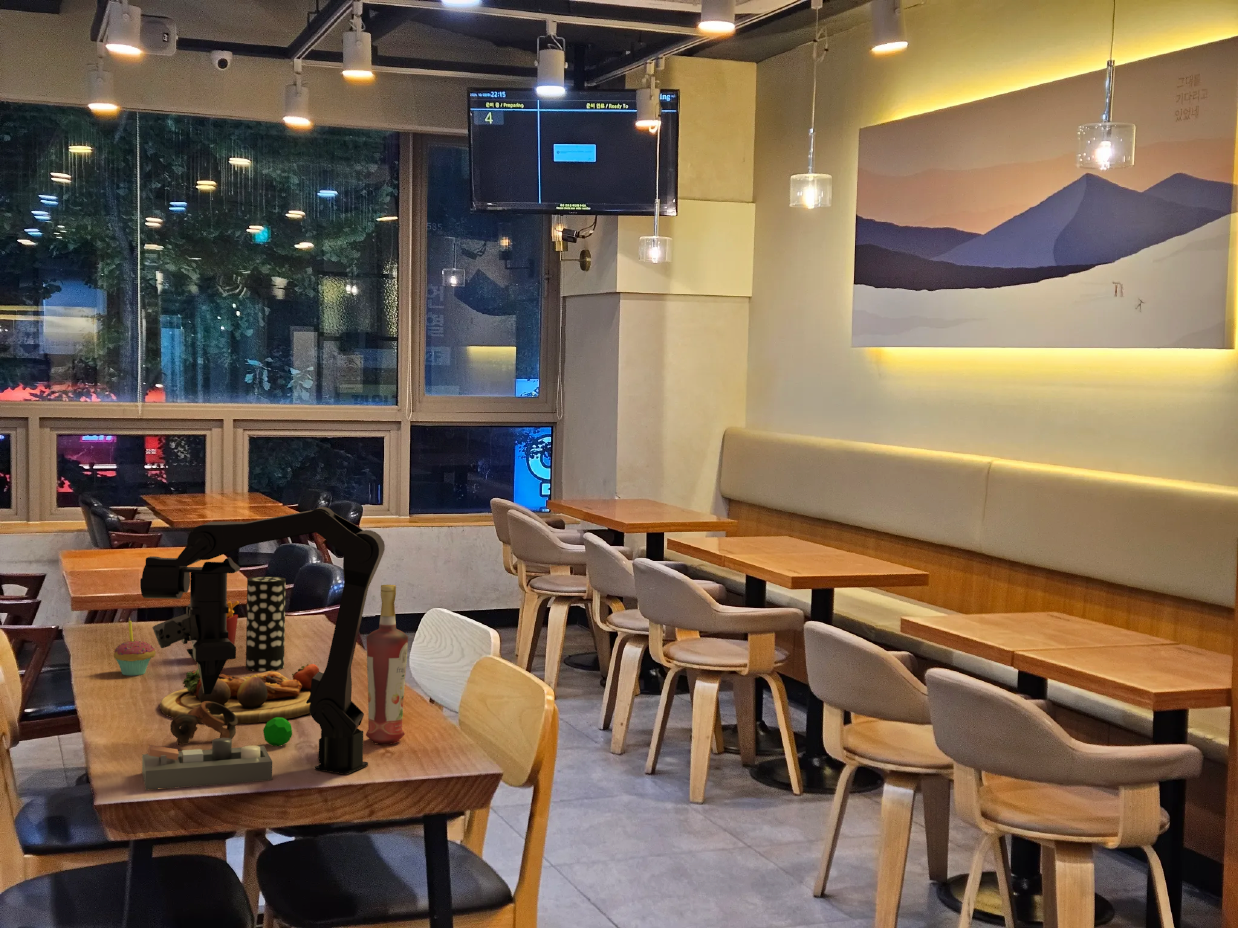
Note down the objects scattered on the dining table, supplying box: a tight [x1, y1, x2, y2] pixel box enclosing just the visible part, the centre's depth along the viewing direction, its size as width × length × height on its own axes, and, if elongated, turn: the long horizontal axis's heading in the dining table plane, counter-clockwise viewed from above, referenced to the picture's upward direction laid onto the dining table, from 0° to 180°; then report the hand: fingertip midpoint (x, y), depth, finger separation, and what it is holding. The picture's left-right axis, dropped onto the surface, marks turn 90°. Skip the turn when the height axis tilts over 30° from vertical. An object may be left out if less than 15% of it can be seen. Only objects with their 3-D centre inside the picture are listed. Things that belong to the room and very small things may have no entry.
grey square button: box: [181, 748, 203, 763], centre depth 210 cm, size 3×3×3 cm
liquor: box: [365, 584, 409, 746], centre depth 235 cm, size 7×7×28 cm
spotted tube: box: [245, 576, 287, 672], centre depth 296 cm, size 8×8×20 cm
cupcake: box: [113, 617, 157, 677], centre depth 287 cm, size 9×8×12 cm
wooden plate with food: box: [159, 663, 320, 725], centre depth 261 cm, size 32×32×8 cm
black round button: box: [211, 737, 233, 761], centre depth 212 cm, size 3×3×3 cm
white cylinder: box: [241, 745, 260, 759], centre depth 214 cm, size 3×3×3 cm
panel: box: [141, 745, 273, 791], centre depth 211 cm, size 19×10×4 cm, turn 113°
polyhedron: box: [262, 717, 293, 747], centre depth 231 cm, size 5×5×5 cm
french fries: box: [226, 600, 240, 646], centre depth 304 cm, size 9×8×15 cm
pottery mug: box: [169, 701, 238, 746], centre depth 230 cm, size 12×10×8 cm
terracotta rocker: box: [147, 744, 179, 760], centre depth 209 cm, size 4×3×1 cm, turn 112°
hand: (207, 693), depth 217 cm, fingers closed
